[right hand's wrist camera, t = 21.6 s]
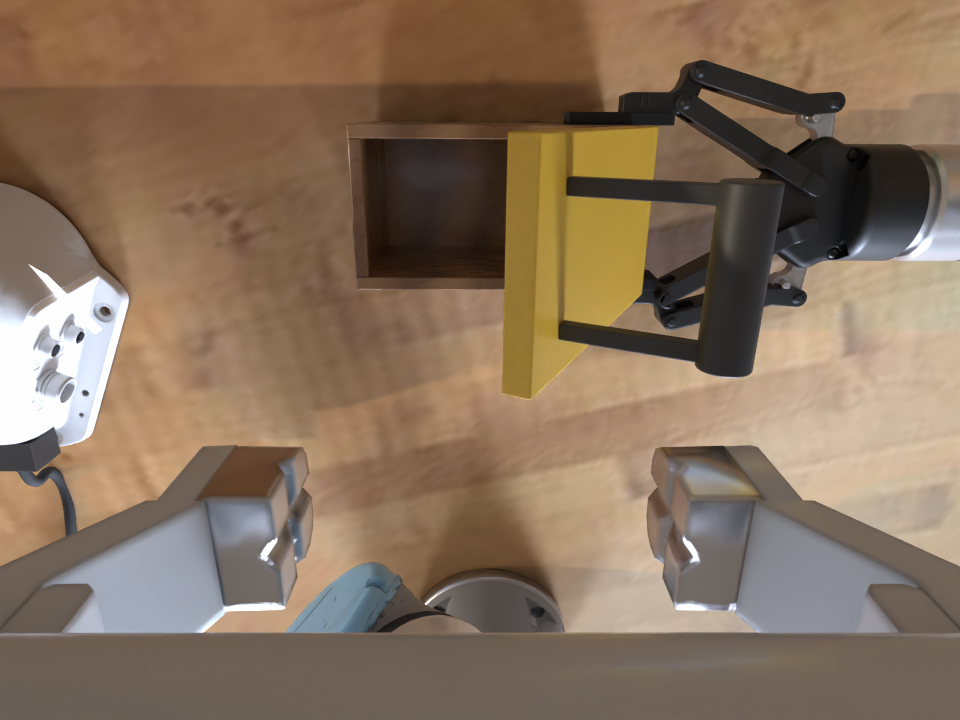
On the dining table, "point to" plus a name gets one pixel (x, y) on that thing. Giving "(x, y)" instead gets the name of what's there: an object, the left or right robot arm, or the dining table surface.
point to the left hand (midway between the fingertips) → (562, 202)
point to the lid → (620, 254)
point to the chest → (431, 202)
